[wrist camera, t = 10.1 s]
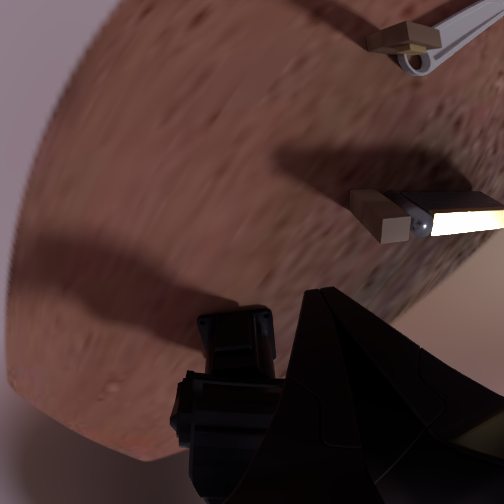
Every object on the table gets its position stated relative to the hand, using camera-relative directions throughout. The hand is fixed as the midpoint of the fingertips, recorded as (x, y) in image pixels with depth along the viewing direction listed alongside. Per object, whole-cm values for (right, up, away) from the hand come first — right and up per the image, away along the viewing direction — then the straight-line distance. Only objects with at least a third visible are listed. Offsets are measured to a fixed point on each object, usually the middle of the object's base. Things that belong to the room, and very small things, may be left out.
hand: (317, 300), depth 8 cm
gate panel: (+13, +6, +12) cm, 19 cm away
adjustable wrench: (+18, +23, +4) cm, 29 cm away
